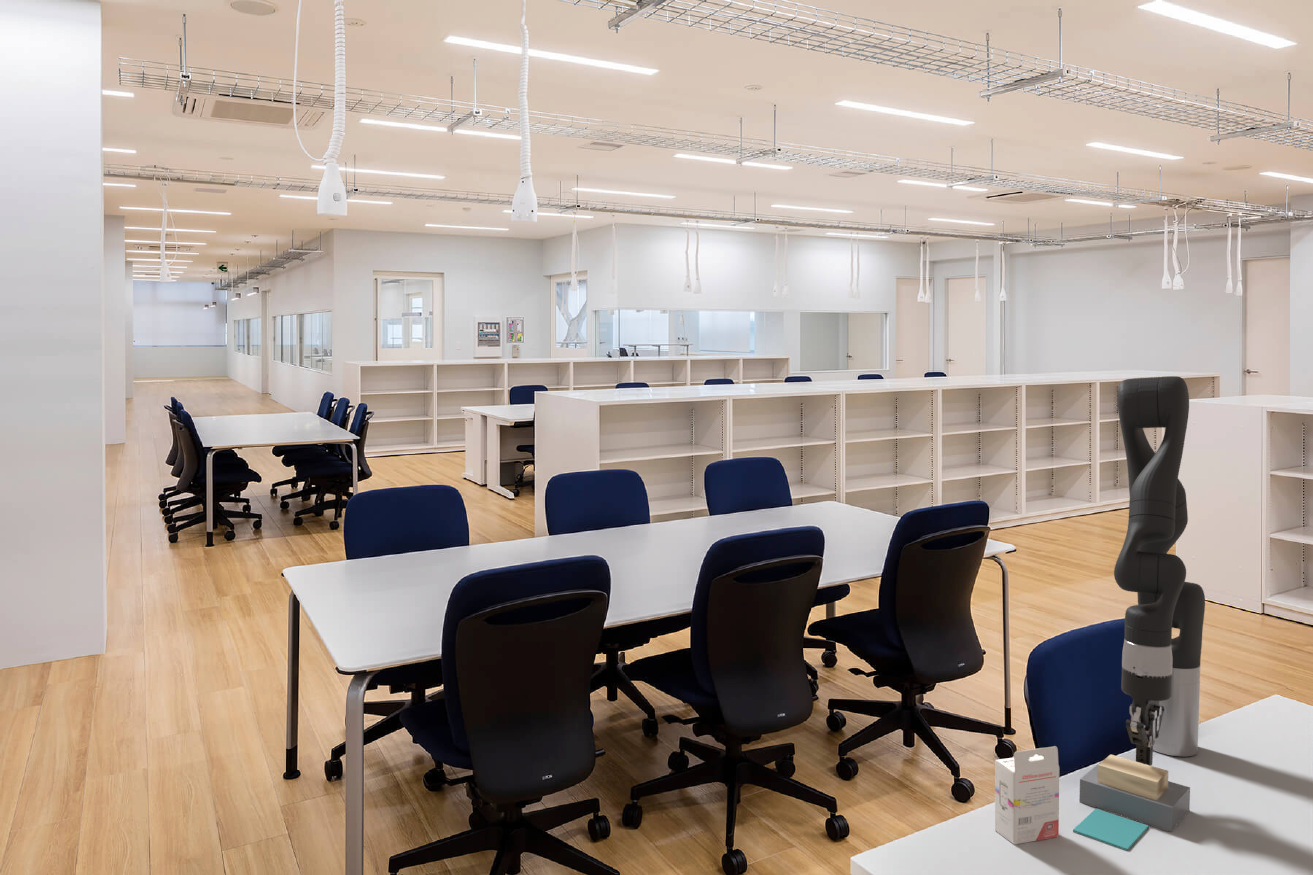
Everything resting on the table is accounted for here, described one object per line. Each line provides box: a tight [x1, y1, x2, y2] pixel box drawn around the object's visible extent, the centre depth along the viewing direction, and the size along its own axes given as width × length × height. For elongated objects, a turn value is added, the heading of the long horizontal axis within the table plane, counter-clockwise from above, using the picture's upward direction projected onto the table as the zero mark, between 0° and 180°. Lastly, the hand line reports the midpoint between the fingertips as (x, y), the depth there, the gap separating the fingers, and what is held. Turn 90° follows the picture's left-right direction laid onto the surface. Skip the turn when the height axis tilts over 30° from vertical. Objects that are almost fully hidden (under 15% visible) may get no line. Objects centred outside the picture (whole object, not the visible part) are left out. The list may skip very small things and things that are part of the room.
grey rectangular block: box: [1079, 761, 1191, 833], centre depth 145 cm, size 10×14×4 cm
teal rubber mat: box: [1072, 808, 1149, 852], centre depth 138 cm, size 10×8×1 cm
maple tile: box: [1097, 754, 1169, 800], centre depth 144 cm, size 6×9×3 cm, turn 44°
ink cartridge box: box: [994, 745, 1060, 845], centre depth 136 cm, size 9×5×15 cm, turn 105°
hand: (1143, 765), depth 148 cm, fingers closed
